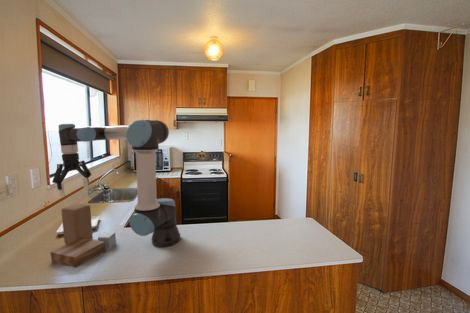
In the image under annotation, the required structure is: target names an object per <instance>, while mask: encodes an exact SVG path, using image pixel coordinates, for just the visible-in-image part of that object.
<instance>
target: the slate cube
mask: <svg viewBox="0 0 470 313" xmlns="http://www.w3.org/2000/svg"><path fill="white" fill-rule="evenodd" d="M97 240H98V241H104V242H105V249H111V248H112V247H114V246H115V245H116V244H117V237H116V232H110V231H109V232H108V231H107V232H103V233H102V234H100V235H99V236H97ZM115 243H116V244H115Z"/></svg>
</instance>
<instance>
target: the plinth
mask: <svg viewBox="0 0 470 313" xmlns="http://www.w3.org/2000/svg"><path fill="white" fill-rule="evenodd" d="M106 251H107V250H106V248H105V242H104V241H98V239H93V238H92V239H87V238H80V239H78V240H76V241H73V242H71V243H69V244H65V245H63V246H60V247H58V248H57V249H53V250H52V251H50V259H51V260H50V261H51V263H54V264H58V265H62V266H66V267H70V268H76V269H77V268H79V267H81V266H82V265H83V264H86V263H87V262H89V261H91V260H93V259H94V258H96V257H98V256H99V255H101V254H104V253H105V252H106Z"/></svg>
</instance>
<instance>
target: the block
mask: <svg viewBox="0 0 470 313" xmlns="http://www.w3.org/2000/svg"><path fill="white" fill-rule="evenodd" d="M91 214H92V213H91V205H89V204H82V203H75V204H71V205H69V206H66V207H63V208H61V220H62V223H63V232H64V234H63V240H64V244H65V245H67V244H69V243H71V242H73V241H76V240H78V239H80V238H87V239H92V240H93V237H94V235H93V229H92V223H91V217H92V215H91Z"/></svg>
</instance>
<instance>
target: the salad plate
mask: <svg viewBox="0 0 470 313" xmlns="http://www.w3.org/2000/svg"><path fill="white" fill-rule="evenodd" d="M100 217H101V216H100V215H95V216H94V215H93V216H92V215H91V223H92V230H93V229H95V228H96V227H98V221H99V219H100ZM55 233H56V234H58V235H64V232H63V222H62V223H61V224H60V225H59V228H57V230H56V231H55Z"/></svg>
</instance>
